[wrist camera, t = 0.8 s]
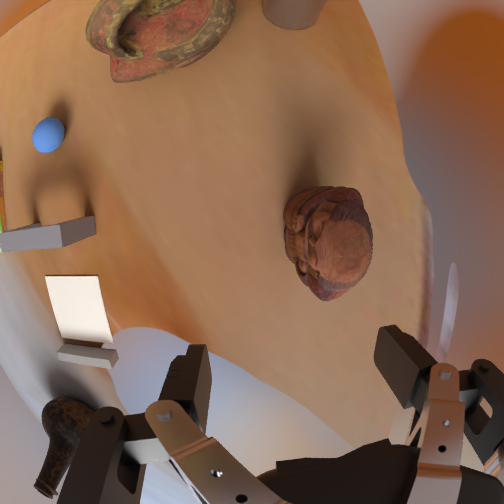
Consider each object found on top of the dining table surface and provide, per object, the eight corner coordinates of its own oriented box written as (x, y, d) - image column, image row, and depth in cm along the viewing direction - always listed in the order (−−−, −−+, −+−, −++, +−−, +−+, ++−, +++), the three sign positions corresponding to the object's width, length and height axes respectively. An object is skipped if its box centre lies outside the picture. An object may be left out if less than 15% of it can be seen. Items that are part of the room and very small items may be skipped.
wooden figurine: (282, 185, 38) (316, 185, 20) (325, 186, 38) (386, 188, 21) (282, 265, 41) (310, 323, 23) (323, 264, 41) (374, 316, 23)
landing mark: (45, 276, 40) (45, 276, 39) (97, 275, 40) (97, 276, 40) (62, 337, 43) (62, 337, 42) (113, 342, 43) (113, 343, 43)
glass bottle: (54, 410, 48) (12, 477, 21) (56, 374, 45) (-2, 453, 18) (108, 444, 51) (79, 520, 24) (121, 414, 48) (82, 509, 21)
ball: (47, 125, 33) (27, 120, 27) (71, 116, 33) (52, 110, 27) (46, 157, 35) (25, 155, 29) (70, 150, 35) (49, 147, 29)
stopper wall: (64, 343, 43) (56, 351, 40) (115, 349, 43) (108, 359, 40) (67, 351, 43) (59, 360, 40) (118, 358, 44) (112, 368, 40)
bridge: (33, 223, 37) (-1, 233, 28) (94, 215, 38) (59, 224, 28) (35, 239, 38) (1, 252, 28) (96, 234, 38) (62, 247, 29)
